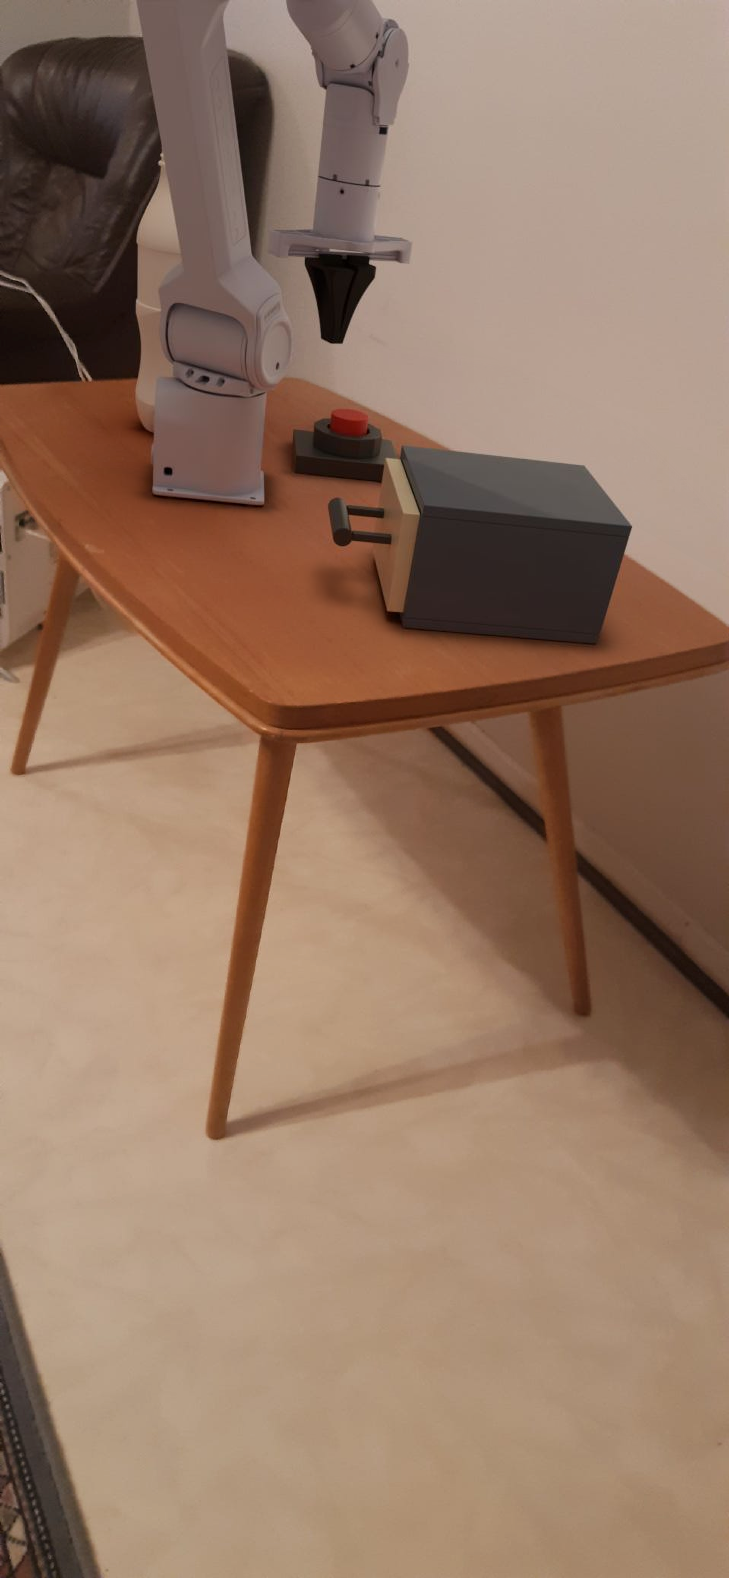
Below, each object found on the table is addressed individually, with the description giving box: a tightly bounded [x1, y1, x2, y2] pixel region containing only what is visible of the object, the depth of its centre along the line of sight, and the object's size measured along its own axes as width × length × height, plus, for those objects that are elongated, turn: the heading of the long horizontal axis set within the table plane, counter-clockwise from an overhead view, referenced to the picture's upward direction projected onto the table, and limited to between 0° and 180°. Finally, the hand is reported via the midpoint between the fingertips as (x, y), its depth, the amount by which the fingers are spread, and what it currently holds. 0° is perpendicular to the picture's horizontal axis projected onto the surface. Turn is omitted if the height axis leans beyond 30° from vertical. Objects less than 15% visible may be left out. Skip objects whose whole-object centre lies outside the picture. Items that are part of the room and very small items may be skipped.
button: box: [330, 408, 370, 436], centre depth 99 cm, size 4×4×2 cm
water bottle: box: [134, 148, 182, 434], centre depth 95 cm, size 7×7×25 cm
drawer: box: [327, 458, 421, 613], centre depth 76 cm, size 18×11×7 cm, turn 95°
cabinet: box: [398, 444, 633, 645], centre depth 77 cm, size 15×13×9 cm
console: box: [291, 417, 399, 483], centre depth 100 cm, size 10×8×4 cm
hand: (331, 341), depth 100 cm, fingers closed
